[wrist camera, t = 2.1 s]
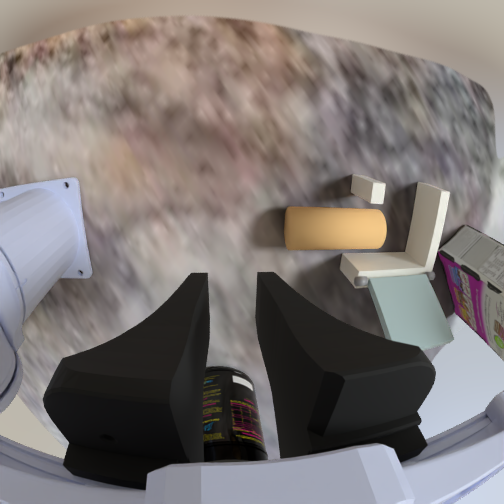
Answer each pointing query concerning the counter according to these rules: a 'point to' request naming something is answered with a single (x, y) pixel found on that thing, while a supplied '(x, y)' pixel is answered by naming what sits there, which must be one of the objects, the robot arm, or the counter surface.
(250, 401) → the supplement container
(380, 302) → the cover flap
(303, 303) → the robot arm
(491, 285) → the candy bar box
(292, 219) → the tan cylinder roller
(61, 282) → the counter surface
